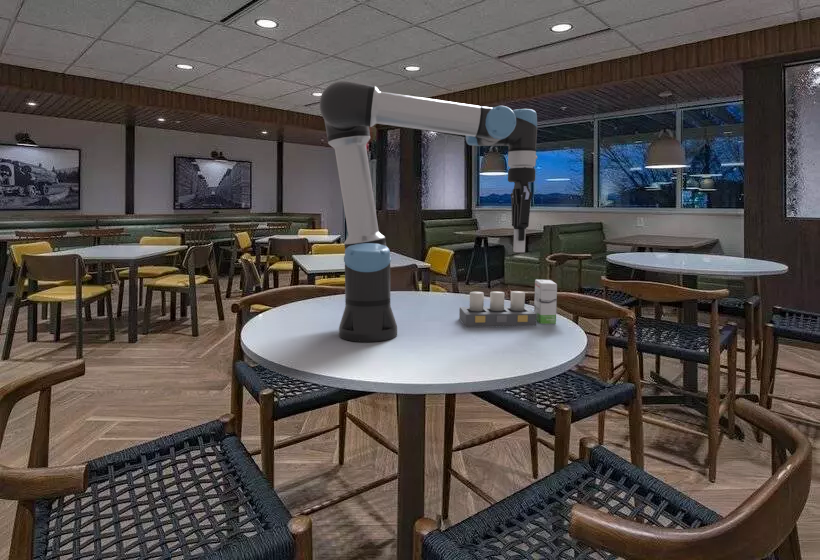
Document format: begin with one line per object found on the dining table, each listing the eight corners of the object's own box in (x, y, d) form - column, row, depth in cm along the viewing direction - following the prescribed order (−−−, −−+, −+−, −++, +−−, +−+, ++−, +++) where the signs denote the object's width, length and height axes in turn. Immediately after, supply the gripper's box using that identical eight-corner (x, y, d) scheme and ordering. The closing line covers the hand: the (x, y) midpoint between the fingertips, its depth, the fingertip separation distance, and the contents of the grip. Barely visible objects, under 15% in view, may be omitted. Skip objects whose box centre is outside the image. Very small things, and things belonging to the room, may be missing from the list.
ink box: (556, 324, 148) (558, 283, 147) (539, 324, 148) (540, 283, 147) (549, 317, 157) (551, 279, 155) (533, 317, 157) (534, 279, 155)
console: (466, 327, 144) (466, 314, 144) (459, 318, 155) (459, 307, 155) (536, 326, 146) (537, 313, 145) (525, 317, 157) (525, 306, 156)
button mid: (491, 311, 148) (492, 293, 147) (488, 308, 152) (488, 291, 151) (505, 310, 148) (505, 293, 147) (502, 308, 152) (502, 291, 151)
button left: (470, 311, 148) (471, 294, 147) (468, 308, 151) (468, 291, 151) (484, 311, 148) (485, 293, 147) (481, 308, 152) (482, 291, 151)
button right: (512, 310, 148) (512, 293, 148) (508, 308, 152) (509, 291, 152) (526, 310, 149) (526, 293, 148) (522, 307, 153) (522, 291, 152)
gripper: (543, 165, 138) (539, 254, 141) (527, 169, 152) (524, 249, 155) (515, 165, 138) (512, 254, 141) (502, 169, 151) (500, 249, 155)
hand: (519, 251), depth 148 cm, fingers closed
